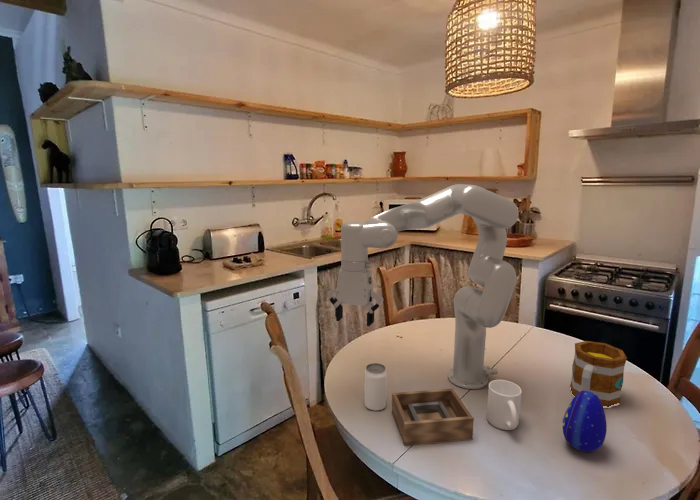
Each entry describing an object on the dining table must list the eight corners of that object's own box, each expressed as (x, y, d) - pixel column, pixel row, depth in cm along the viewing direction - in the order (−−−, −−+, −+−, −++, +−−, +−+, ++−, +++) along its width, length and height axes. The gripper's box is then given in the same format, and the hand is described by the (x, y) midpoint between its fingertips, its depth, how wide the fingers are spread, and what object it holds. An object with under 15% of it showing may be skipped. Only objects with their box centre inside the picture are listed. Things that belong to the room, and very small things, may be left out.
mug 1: (529, 441, 99) (533, 404, 97) (496, 440, 99) (499, 404, 97) (511, 412, 110) (514, 379, 108) (482, 412, 111) (484, 379, 109)
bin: (451, 407, 113) (452, 388, 112) (472, 439, 99) (473, 418, 98) (391, 412, 111) (392, 393, 110) (404, 445, 97) (404, 424, 96)
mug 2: (576, 379, 128) (581, 337, 125) (625, 395, 118) (631, 350, 115) (555, 404, 114) (560, 357, 111) (609, 424, 105) (616, 374, 102)
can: (385, 412, 111) (385, 374, 108) (362, 410, 112) (362, 372, 109) (387, 400, 117) (388, 363, 114) (366, 397, 118) (366, 361, 116)
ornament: (565, 427, 104) (571, 376, 101) (606, 442, 98) (613, 388, 95) (556, 450, 95) (562, 395, 92) (599, 467, 90) (607, 409, 87)
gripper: (387, 265, 110) (386, 322, 113) (332, 260, 116) (333, 313, 120) (378, 271, 103) (378, 331, 106) (321, 265, 110) (322, 322, 113)
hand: (354, 322), depth 113 cm, fingers open, 9 cm apart
